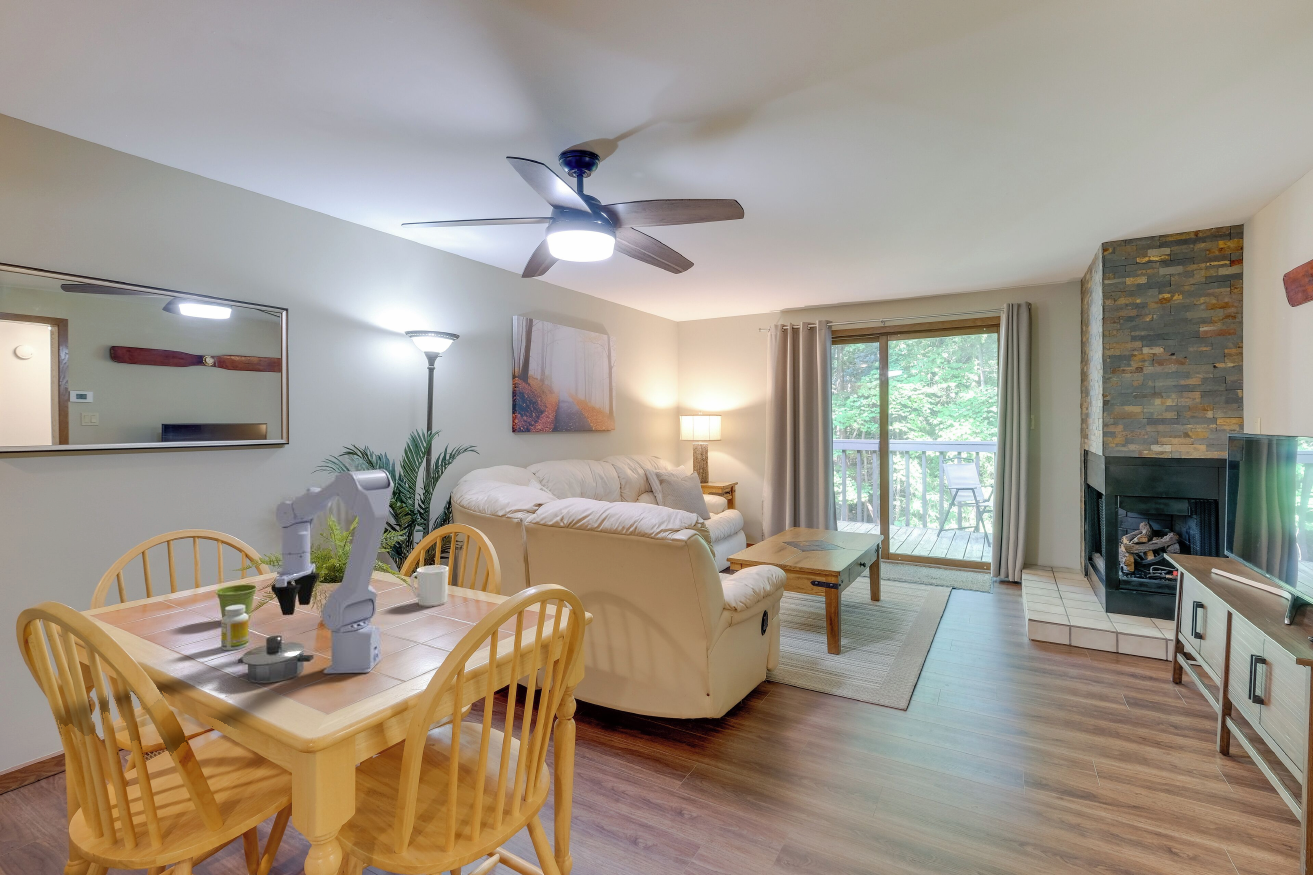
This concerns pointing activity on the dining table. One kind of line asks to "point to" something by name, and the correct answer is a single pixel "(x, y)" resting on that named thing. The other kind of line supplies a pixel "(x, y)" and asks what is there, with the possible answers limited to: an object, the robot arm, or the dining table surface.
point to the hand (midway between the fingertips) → (296, 609)
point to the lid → (273, 652)
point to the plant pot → (236, 597)
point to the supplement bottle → (234, 628)
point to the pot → (276, 670)
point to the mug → (431, 585)
